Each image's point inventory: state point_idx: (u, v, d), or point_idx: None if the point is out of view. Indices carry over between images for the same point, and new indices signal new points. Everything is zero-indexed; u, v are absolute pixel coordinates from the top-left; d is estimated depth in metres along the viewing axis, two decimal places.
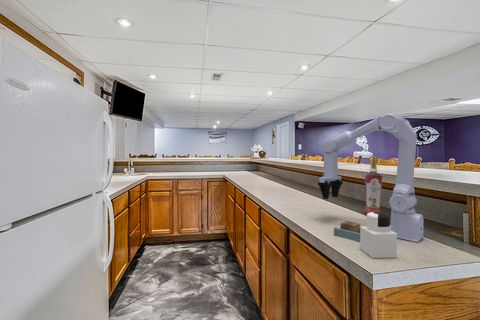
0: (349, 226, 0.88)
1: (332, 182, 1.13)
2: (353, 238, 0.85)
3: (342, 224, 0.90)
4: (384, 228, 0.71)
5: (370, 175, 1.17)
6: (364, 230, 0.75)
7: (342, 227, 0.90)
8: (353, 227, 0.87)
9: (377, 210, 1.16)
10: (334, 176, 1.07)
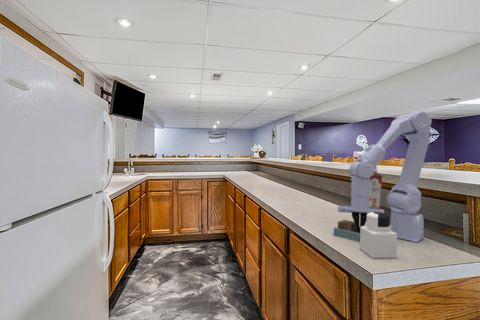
0: (346, 225, 0.89)
1: None
2: (353, 238, 0.85)
3: (339, 223, 0.91)
4: (384, 228, 0.71)
5: None
6: (364, 230, 0.75)
7: (339, 226, 0.91)
8: (350, 226, 0.88)
9: None
10: (356, 207, 0.86)
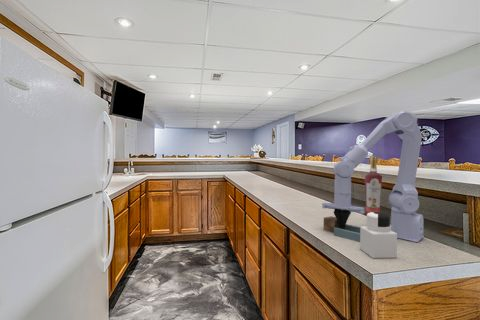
0: (330, 221, 0.95)
1: None
2: (353, 238, 0.85)
3: (325, 219, 0.97)
4: (384, 228, 0.71)
5: (370, 175, 1.17)
6: (364, 230, 0.75)
7: (325, 222, 0.97)
8: (333, 222, 0.93)
9: (377, 210, 1.16)
10: (336, 204, 0.91)
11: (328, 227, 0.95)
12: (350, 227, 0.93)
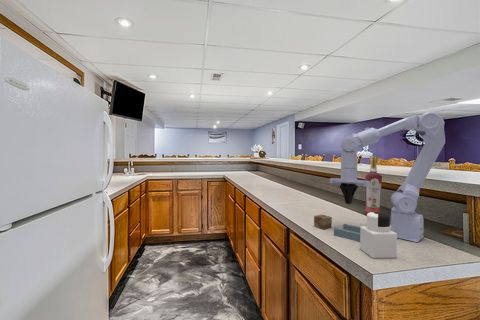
0: (320, 219, 0.98)
1: None
2: (353, 238, 0.85)
3: (315, 217, 1.00)
4: (384, 228, 0.71)
5: (370, 175, 1.17)
6: (364, 230, 0.75)
7: (315, 219, 1.00)
8: (323, 220, 0.97)
9: (377, 210, 1.16)
10: (342, 178, 0.95)
11: (318, 224, 0.99)
12: (350, 227, 0.93)
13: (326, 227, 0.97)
